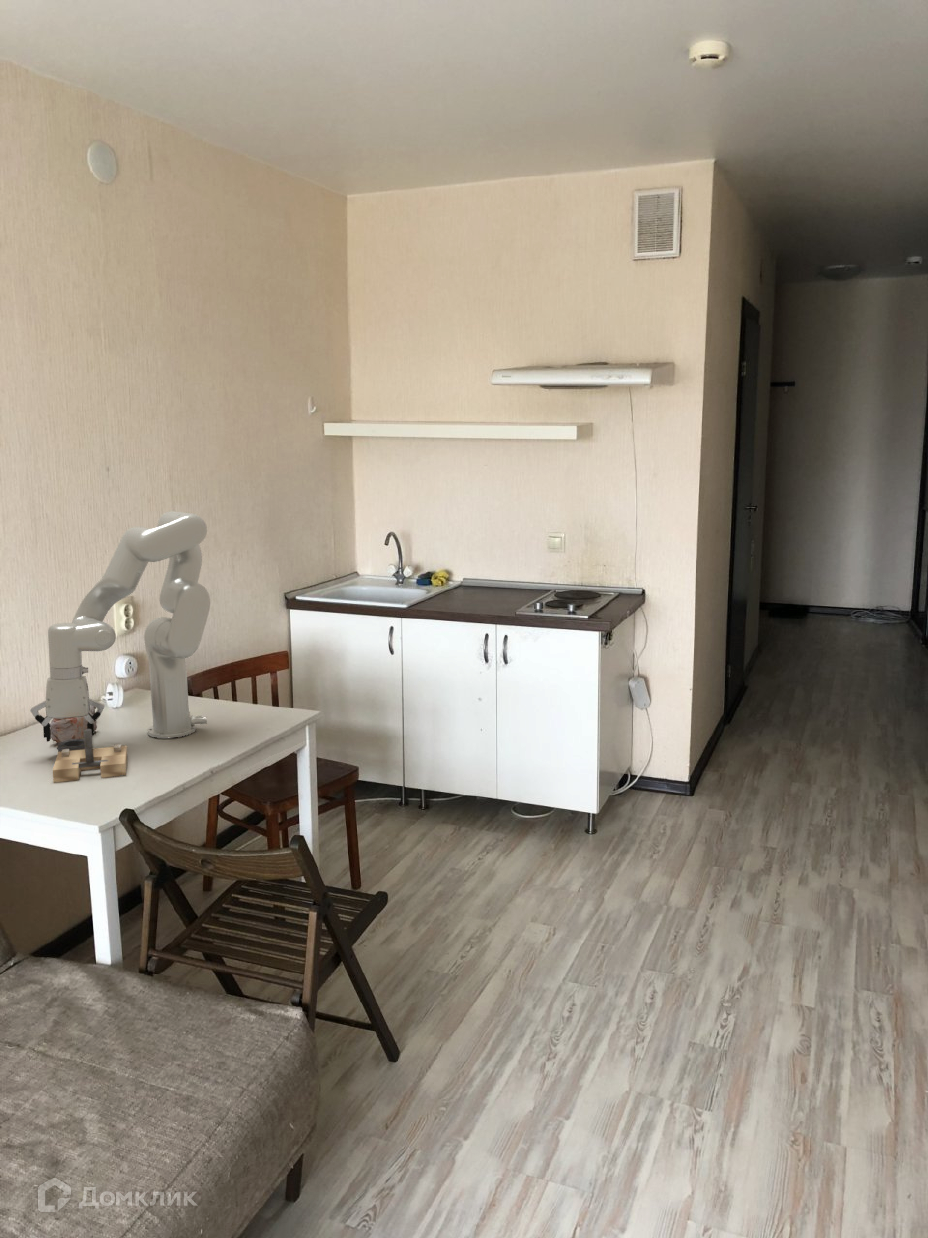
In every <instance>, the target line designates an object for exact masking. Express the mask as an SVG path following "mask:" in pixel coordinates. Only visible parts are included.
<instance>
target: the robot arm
mask: <svg viewBox="0 0 928 1238" xmlns="http://www.w3.org/2000/svg"><path fill="white" fill-rule="evenodd" d="M207 534H208V527H207V524H206V522H205V520H204V519H203V518H202V516H200V515H198V514H195V513H192V512H191V513H189V512H183V511H177V510H172V511H170V510H169V511H166V512H164V513H162V514H161V516H159V518H158V521H157V526H156V527H152V528H150V527H143V526H134V527H130V528H128V529H127V530H125V532H124V533H123V535H122V537H121V539H120V541H119V543H118V544H117V546H116V548H115V551H114V553H113V554H112V555H113V556H112V557H111V559H110V561H109V564H108V566H107V567H106V569H105V571H104V573H103V576H102V577H101V579H100V580H99V581H98V582H97V583H96V584H95V585H94V586H93V587H92V589H90V591H89V592H87V594H86V595H85V596H84V598H83V599H82V601H81V603H80V604H79V606H78V608H77V609H76V612H75V614H74V616H73V618H72V621H71V622H60V623H55V624H52V625H50V626H49V627H48V629H47V640H48V641H47V642H48V643H47V644H48V659H49V660H48V661H49V677H47V680H46V687H45V700H44V701H42V702H40V703H38V704H36V705H34V706H33V707H30V713H31V714H32V716H33V717H34V719H35V720H36V721H37V722H38V723H39V724H40V725H41V726H42V728H43V729H42V730H43V738H46V742H50V741H51V740H52V739H51V727H50V723H51V721H52V720H53V718H75V717H84V718H85V719H86V720H87V721H88V723H87V729H91V730H92V736H93V735H95V731H94V722H95V721H96V722H97V719H99V718H100V717H101V714H102V713H103V711H104V709H105V704H104V703H102V702H99V701H97V700H94V699H92V698H90V692H89V684H88V680H87V677H86V676H85V675H84V674H88V673H89V667H86V666H84V665H83V657H82V653H83V652H104V651H106V650H108V649H111V647H112V646H113V645H114V644H115V642H116V639H117V635H116V631H115V629H114V627H112V626H111V625H110V624H108V623H107V622H105V621H104V619H105V617H106V616H107V614H108V613H109V611H110V610H111V608H113V606H114V605H116V604H117V603H118V602H120V601H121V600H123V599H125V598H126V597H128V596H130V595H132V594H133V593H134V592H135V591H136V589H137V587H138V585H139V582H140V581H141V578H142V576H143V575H144V572H145V570H146V568H147V566H148V565H149V564H148V563H149V562H150V563H157V562H161V561H165V560H167V559H168V565H167V567H166V568H167V569H166V573H165V576H164V578H163V579H164V580H163V582H162V587H161V589H160V593H159V604H160V607H161V608H162V609H163V610H164V611H166V612H168V613H170V614H172V617H171V618H170V617H167V616H166V617H163V616H161V617H157V618H155V619H153V620H151V621H150V622H149V623H148V624H147V625H146V628H145V630H144V634H143V638H144V639H143V641H144V646H145V647H144V648H145V649H146V655H147V659H148V668H149V681H150V682H149V683H150V696H151V697H150V699H151V714H152V725H151V726H150V727H148V728H147V735H148V736H150V737H151V738H154V737H157V738H156V739H169V738H168V737H178V738H183V737H186V736H189V735H191V733H192V732H193V733H194V732H196V730H197V728H196V726H197V725H199V724H200V725H206V724H208V720H207V718H208V717H207V716H202V715H197V716H196V715H195V716H193V715H191V711H190V710H189V709H190V708H189V693H188V692H189V691H188V690H189V689H188V688H189V687H188V676H187V675H188V673H187V671H188V670H187V664H186V663H187V662H186V659H187V658H189V657H191V656H193V655H195V653H196V651H197V650H198V648H199V646H200V645H201V642H202V637H203V635H204V631H205V627H206V623H207V620H208V617H209V614H210V609H211V597H210V594H209V591H208V589H207V588H206V587H205V586H204V585H203V584H200V583H199V579H200V574H201V569H202V565H203V555H202V554H203V553H202V549H201V545H200V544H201V543H202V542H204V540H205V539H206V537H207ZM90 705H91V706H94V707H96V710H95V714H94V715H92V714H91V713H89V710H90ZM44 708H45V715H46V716H45V717H44V716H43V715H41V714H40V713H39V711H40V710H42V709H44ZM193 733H192V734H193ZM188 734H189V735H188ZM185 735H186V736H185ZM182 736H183V737H182Z"/></svg>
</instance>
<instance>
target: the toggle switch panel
mask: <svg viewBox="0 0 928 1238" xmlns="http://www.w3.org/2000/svg"><path fill="white" fill-rule="evenodd" d="M83 732H84V744H85V749H83V750H72V751H69V749H62V751H61V752H58V751H57V754H56V759H55V762H54V765H53V767H52V777H53V783H61V782H63V783H64V782H71V781H79V779H80V776H81V772H82V771H86V770H87V771H88V770H96V769H97V770H99V769H100V777H101V779H102V778H103V779H104V778H109V777H110V778H111V777H112V778H114V777H121V776H120V775H124V776H126V775H127V767H126V766H128V765H127V764H128V747H127V745H122V744H120V743H119V744H113V746H108V747H98V748H97V747H96V748H94V745H93V735H92V730H91V729H85V730H83ZM98 768H99V769H98ZM113 776H114V777H113Z"/></svg>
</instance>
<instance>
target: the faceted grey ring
mask: <svg viewBox="0 0 928 1238" xmlns="http://www.w3.org/2000/svg"><path fill="white" fill-rule="evenodd" d="M62 749H69V751H72V750H83V749H85V744H84V739H69V740H66V741H63V742H60V743H57V753H58V752H61V751H62Z"/></svg>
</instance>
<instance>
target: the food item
mask: <svg viewBox="0 0 928 1238" xmlns="http://www.w3.org/2000/svg"><path fill="white" fill-rule="evenodd" d="M89 713H91V714H92V715H94V714H95V713H96V709H95V708H94V706H91V705H90V710H89ZM87 723H88V721H87V720H86V719H85V718H84V717H75V718H52V719H51V721H50V722H49V724H50V728H51V739H50V740H51V741H53V742H55V743H56V744H58V743H60V742H63V741H66V740H69V739H84V732H83V730H85V729H87ZM97 729H98V725H97V720H96V721H95V722H94V732H96V731H97Z"/></svg>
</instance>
